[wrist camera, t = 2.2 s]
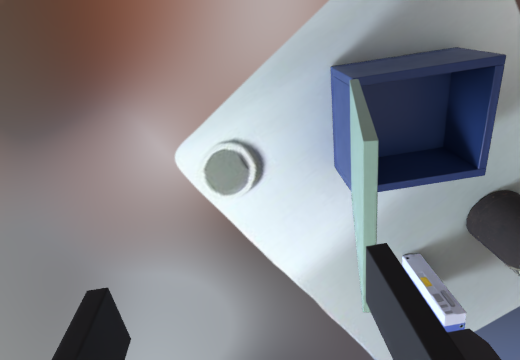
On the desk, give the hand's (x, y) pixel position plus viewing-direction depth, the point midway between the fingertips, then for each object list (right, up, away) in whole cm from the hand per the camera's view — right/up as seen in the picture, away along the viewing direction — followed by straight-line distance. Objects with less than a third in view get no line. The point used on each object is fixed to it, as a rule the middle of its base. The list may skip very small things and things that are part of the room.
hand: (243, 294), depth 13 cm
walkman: (+24, -10, +42) cm, 49 cm away
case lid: (+9, +4, +15) cm, 18 cm away
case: (+17, +13, +29) cm, 36 cm away
